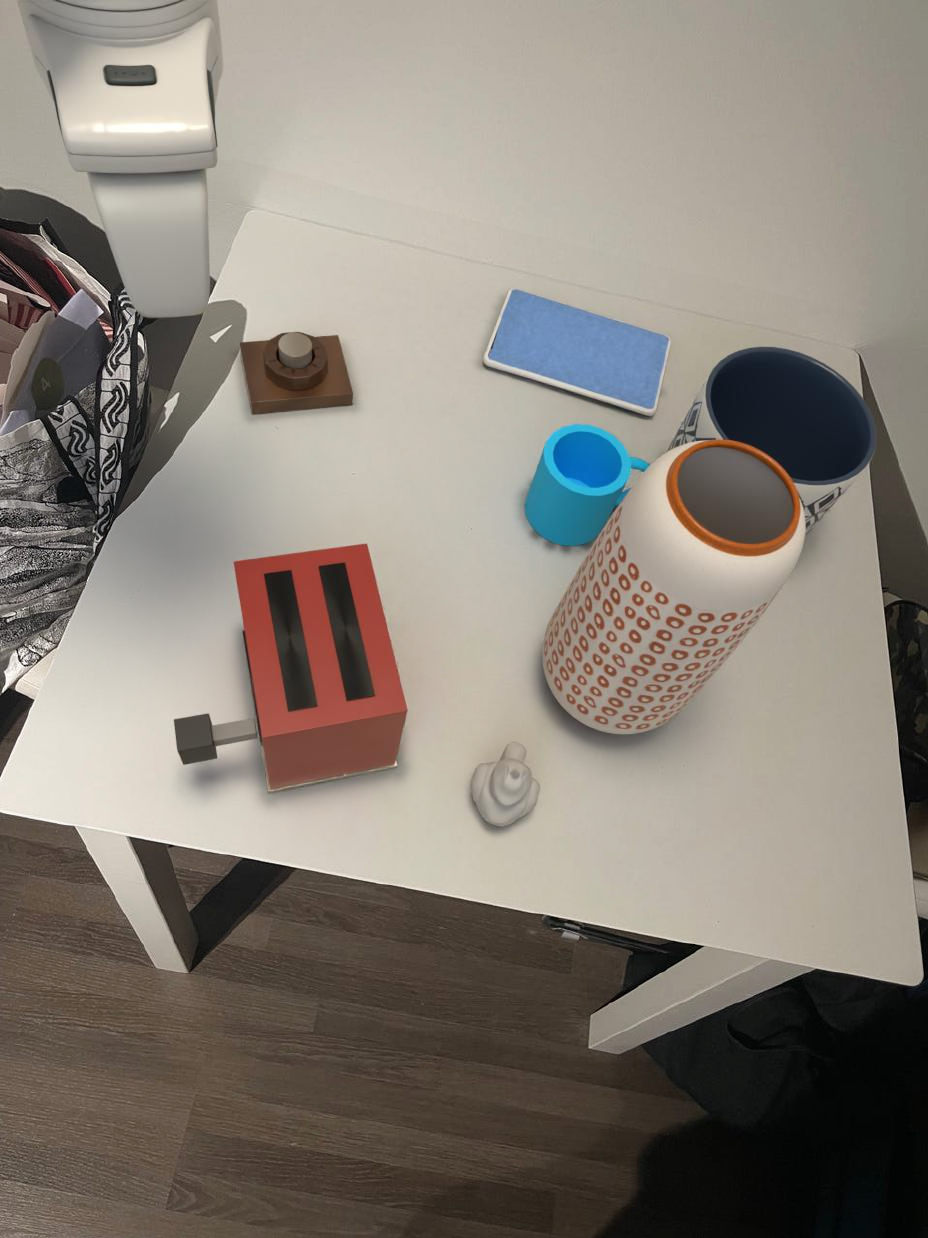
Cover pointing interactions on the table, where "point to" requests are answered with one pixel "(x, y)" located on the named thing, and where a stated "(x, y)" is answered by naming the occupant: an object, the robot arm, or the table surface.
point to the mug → (578, 484)
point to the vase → (673, 585)
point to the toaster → (320, 666)
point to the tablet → (579, 351)
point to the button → (295, 350)
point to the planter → (787, 420)
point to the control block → (295, 376)
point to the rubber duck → (505, 787)
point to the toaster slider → (208, 736)
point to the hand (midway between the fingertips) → (168, 265)
